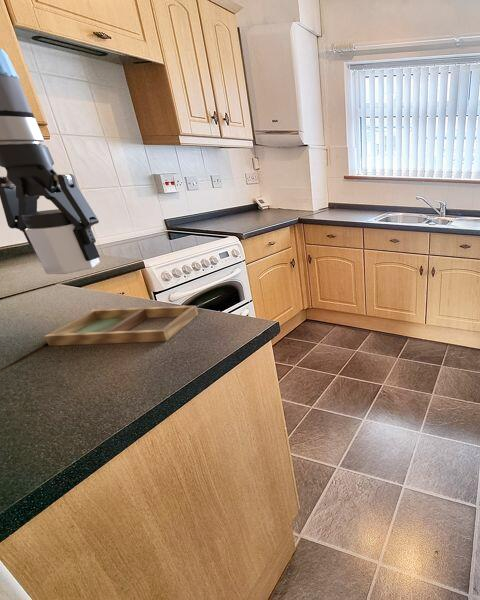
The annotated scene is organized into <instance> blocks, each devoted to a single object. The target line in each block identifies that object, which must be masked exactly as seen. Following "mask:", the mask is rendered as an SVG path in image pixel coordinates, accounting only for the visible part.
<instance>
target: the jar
mask: <svg viewBox="0 0 480 600" xmlns="http://www.w3.org/2000/svg"><path fill="white" fill-rule="evenodd" d="M21 217H22V219H23V222H24V224H25V225H26V227H27V228H26V229H25V231H26V233H27V236H28V238H29V240H30V242H31V244H32V246H31V247H32V248H33V251H34V253H35V252H36V253H35V255H36V254H37V255H36V257H37V256H38V257H37V258H39V259H38V261H39V260H40V261H39V262H41V263H40V264H41V267H42V268H43V270H44V272H45V274H46V275H68V274H73V273H77V272H81V271H87V270H90V269H93V268H94V267H96V266H97V265H99V264H100V263H101V261H100V257H99V258H96V259H93V260H90V261H86V259H85V257H84V255H83V253H82V250H81V248H80V246H79V243H78V241H77V239H76V236H75V234H74V232H73V230H74V229H73V228H75V226H74V225H73V224H72V223H71V222H70V221H69V219H68V218H67V217H66V216H65V215H64V214H63V212H61V211H60V210H59V209H58V208H55V209H46V210H37V212H31V213H26V214H22V215H21Z"/></svg>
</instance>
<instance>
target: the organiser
mask: <svg viewBox="0 0 480 600" xmlns="http://www.w3.org/2000/svg"><path fill="white" fill-rule="evenodd" d="M197 316H199V311H198V308H197V305H175V306H173V305H172V306H150V307H148V306H147V307H124V308H101V309H100V308H97V309H92V310H89V311H88V312H86V313H85V314H83V315H81V316H79V317H77V318H75V319H73V320H72V321H70V322H68V323H65V324H64V325H62V326H60V327H58V328H57V329H55V330H53V331H51V332H49V333H47V334H46V335H44V336H43V338H44V339H45V341H46V343H47V345H48V346H49V347H54V346H58V347H59V346H79V345H80V346H81V345H105V344H106V345H107V344H131V343H155V342H157V343H158V342H167V341H169V340H170V339H171V338H173V337H174V336H175V335H176V334H177V333H178V332H179V331H181V330H182V329H183V328H184V327H185V326H187V325H188V324H189V323H190V322H191V321H193V320H194V319H195V318H196V317H197ZM175 317H176V318H175ZM151 318H174V319H173V320H172V321H170V322H169V323H168V324H166V325H165V326H164V327H162V329H142V330H132V329H134V328H135V327H136V326H138V325H139V324H141V323H143V322H144V321H145V320H146V319H151Z"/></svg>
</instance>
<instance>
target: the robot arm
mask: <svg viewBox="0 0 480 600" xmlns="http://www.w3.org/2000/svg"><path fill="white" fill-rule="evenodd" d="M20 79H21V78H20V76H19V75H18V73H17V71H16V69H15V67H14V65H13V63H12V61H11V59H10V57H9V55H8V54H7V52H6V51H5V50H4V49H2V48H1V47H0V167H1V168H4V169H5V171H6V175H5V176H0V201H1V202H0V203H1V205H2V209H3V213H4V215H5V219H6V223H7V226H8V228H10V229H12V230H13V229H16V230H19V231H21V232H22V233H23V235H24V237H25V239H26V241H27V243H28V245H29V246H30V247H33V246H32V244H31V242H30V240H29V238H28V236H27V233H26V231H25V229H26V228H27V227H26V225H25V224H24V222H23V219H22V217H21V215H22V214H26V213H31V212H37V211H38V200H39V199H40V197H44V198H45V199H46V200H48V201H50V202H51V203H52V204H53V205H54V206H55V207H56V209H59V210H60V211H61V212H63V214H64V215H65V216H66V217H67V218H68V219H69V221H70V222H71V223H72V224H73V225H74V226H75V228H73V229H74V230H73V232H74V234H75V236H76V239H77V241H78V243H79V246H80V248H81V250H82V253H83V255H84V257H85V259H86V261H90V260H93V259H96V258H99V259H100V258H101V257H100V254H99V250H98V249H97V247H96V244H95V243H96V242H97V239H96V237H95V235H94V232H93V231H92V226H95V225H97V224H99V222H100V220H99V219H98V217H97V215H96V214H95V211H93V209H92V208H91V206H90V204H89V202H88V200H87V199H86V197H84V195H83V193H82V191H81V189H80V188H79V186H78V184H77V180H76V177H75V175H74V174H72V173H65V174H60V173H58V172H57V171H55V170H54V168H53V165H54V164H55V161H54V159H53V157H52V154H51V152H50V149H49V147H48V146H47V145H46V144H42V143H44V141H45V138H44V135H43V134H42V131H41V129H40V127H39V124H38V122H37V119H36V117H35V115H34V112H33V111H32V108H31V106H30V103H29V101H28V98H27V96H26V93H25V91H24V88H23V86H22V83H21V81H20ZM34 253H35V255H36V257H37V258H38V256H37V254H36V252H35V251H34ZM38 262H40V260H39V258H38ZM40 264H41V262H40Z"/></svg>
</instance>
